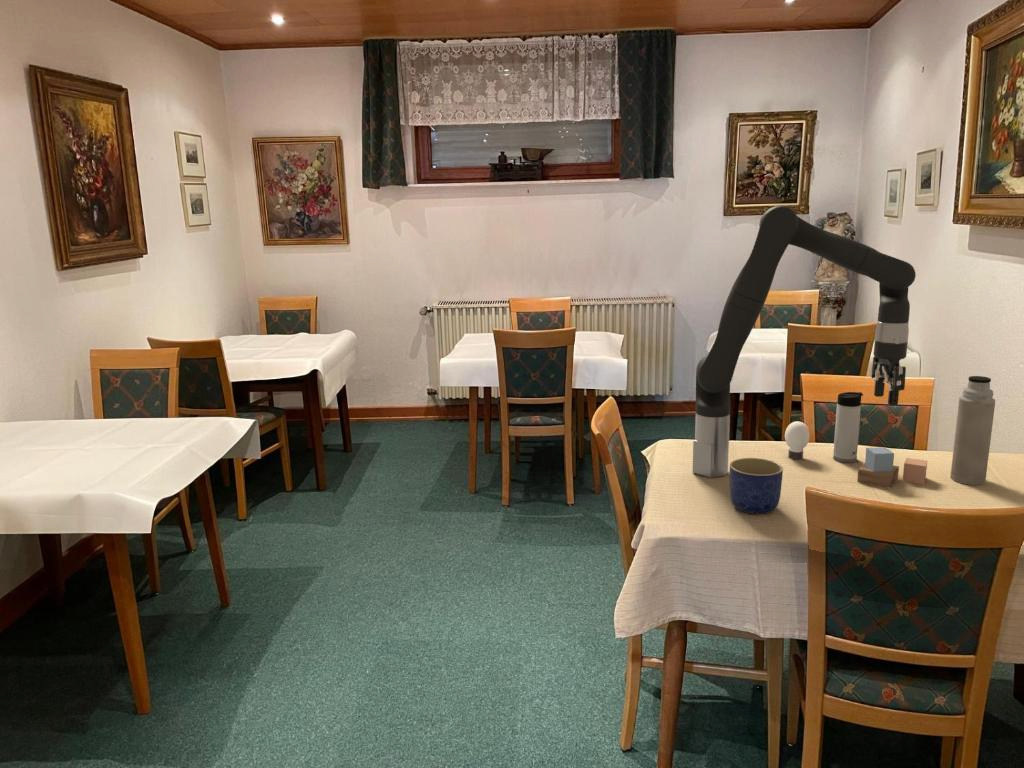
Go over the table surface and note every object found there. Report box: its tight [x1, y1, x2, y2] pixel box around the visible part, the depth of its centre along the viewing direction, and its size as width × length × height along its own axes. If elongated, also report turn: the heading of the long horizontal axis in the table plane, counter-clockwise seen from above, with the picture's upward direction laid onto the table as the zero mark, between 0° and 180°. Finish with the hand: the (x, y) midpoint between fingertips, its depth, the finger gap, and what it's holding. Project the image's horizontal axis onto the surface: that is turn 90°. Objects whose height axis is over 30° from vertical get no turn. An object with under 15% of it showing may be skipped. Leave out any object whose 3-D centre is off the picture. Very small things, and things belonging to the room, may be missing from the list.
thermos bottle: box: [949, 375, 996, 486], centre depth 192 cm, size 8×8×28 cm
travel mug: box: [832, 391, 864, 464], centre depth 212 cm, size 6×7×20 cm
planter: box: [729, 457, 784, 515], centre depth 182 cm, size 12×12×11 cm
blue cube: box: [864, 446, 895, 472], centre depth 196 cm, size 5×5×5 cm
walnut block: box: [857, 462, 900, 489], centre depth 197 cm, size 8×8×4 cm
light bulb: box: [784, 420, 811, 460], centre depth 216 cm, size 7×7×11 cm
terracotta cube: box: [902, 457, 928, 485], centre depth 197 cm, size 5×5×5 cm
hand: (885, 400), depth 191 cm, fingers open, 8 cm apart
